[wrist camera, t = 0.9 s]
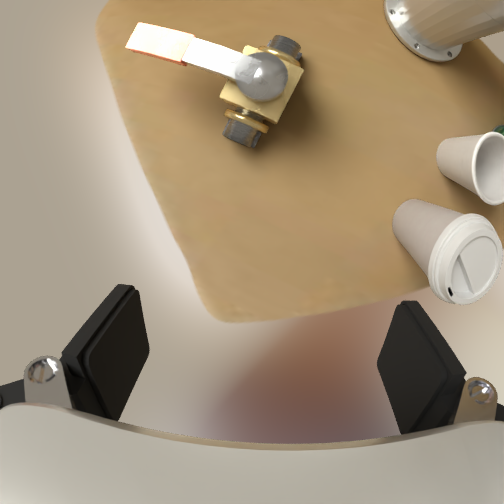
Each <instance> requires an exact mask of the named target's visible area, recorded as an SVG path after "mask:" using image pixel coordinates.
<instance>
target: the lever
mask: <svg viewBox="0 0 504 504" xmlns="http://www.w3.org/2000/svg"><path fill="white" fill-rule="evenodd" d="M126 48H128V49H129V50H131V51H133V52H136V53H140V54H144V55H148V56H152V57H155V58H159V59H162V60H166V61H169V62H173V63H176V64H179V65H183V66H187V65H190V66H193V67H196V68H199V69H202V70H205V71H207V72H210V73H213V74H216V75H219V76H221V77H224V78H227V79H229V80H232V81H234V82H236V83H237V85H238V87H239V89H240V91H241V92H242V94H243V95H245V96H246V97H247V98H249V99H251V100H253V101H257V102H267V101H271V100H273V99H275V98H277V97H278V96H279V95H280V94H281V93H282V92H283V91H284V89H285V86H286V84H287V81H288V71H287V68H286V66H285V64H284V63H283V61H282V60H281V59H279V58H278V57H277V56H275V55H273V54H270V53H266V52H257V53H252V54H250V55H248V56H247V55H245V54H242V53H239V52H237V51H234V50H231V49H228V48H225V47H222V46H219V45H216V44H213V43H210V42H207V41H204V40H200V39H197V38H196V37H195V36H194V35H191V34H188V33H184V32H180V31H176V30H172V29H168V28H164V27H159V26H154V25H150V24H145V23H138V25H137V26H136V28H135V30H134V32H133V34H132V36H131V37H130V39H129V41H128V43H127V45H126Z"/></svg>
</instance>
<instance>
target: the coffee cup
mask: <svg viewBox="0 0 504 504" xmlns="http://www.w3.org/2000/svg"><path fill="white" fill-rule="evenodd" d="M392 226H393V232H394V234H395V236H396V238H397V239H398V240H399V242H400V243H401V244H402V245H403V246H404V248H405V249H406V250H407V251H408V253H409V254H410V255H411V256H412V258H413V259H414V260H415V261H416V263H417V264H418V265H419V266H420V268H421V269H422V270H423V272H424V273H425V274H426V276H427V277H428V279H429V284H430V287H431V289H432V291H433V293H434V294H435V295H436V296H437V297H438V298H439V299H441V300H443V301H445V302H448V303H453V304H459V305H467V304H471V303H473V302H475V301H477V300H479V299H480V298H481V297H482V296H484V295H485V294H486V293H487V292H488V291H489V289H490V288H491V287H492V285H493V284H494V282H495V280H496V279H497V276H498V274H499V271H500V268H501V264H502V257H503V252H502V251H503V250H502V244H501V241H500V239H499V237H498V235H497V233H496V231H495V229H494V227H493V226H492V224H491V223H490V222H489V221H488V220H487V219H486V218H485V217H483V216H481V215H479V214H466V215H465V214H462V213H459V212H456V211H453V210H450V209H447V208H444V207H441V206H438V205H435V204H432V203H429V202H425V201H422V200H419V199H410V200H407V201H405V202H404V203H402V204H401V205H400V206H399V207H398V209H397V210H396V212H395V214H394V217H393V223H392Z"/></svg>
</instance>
